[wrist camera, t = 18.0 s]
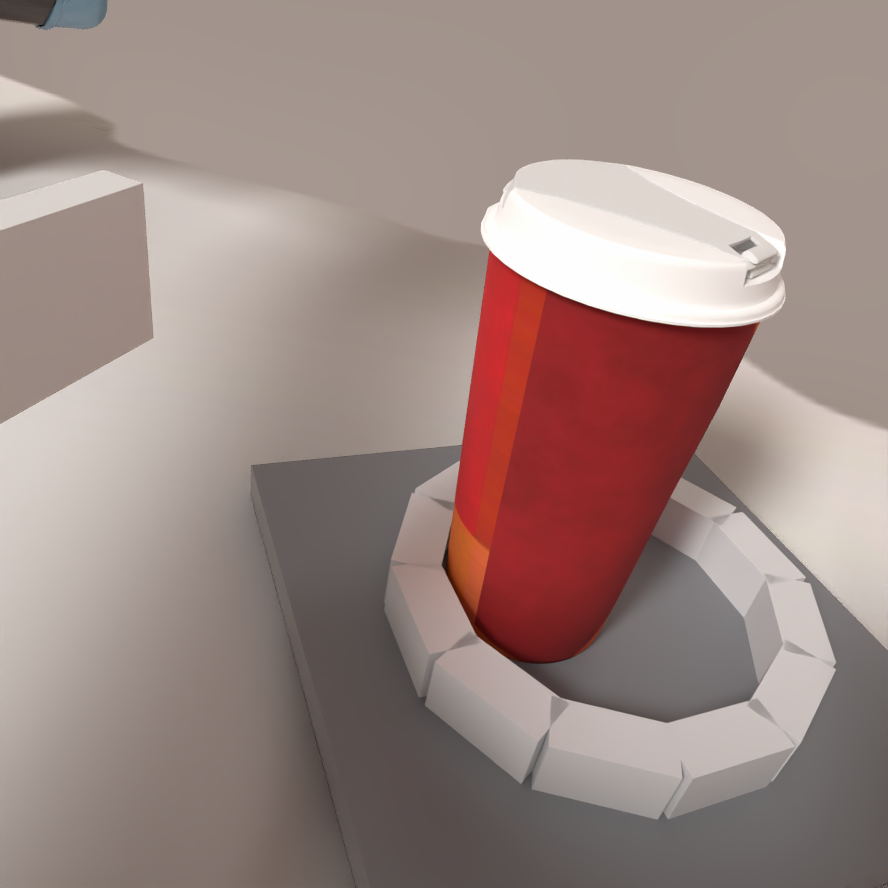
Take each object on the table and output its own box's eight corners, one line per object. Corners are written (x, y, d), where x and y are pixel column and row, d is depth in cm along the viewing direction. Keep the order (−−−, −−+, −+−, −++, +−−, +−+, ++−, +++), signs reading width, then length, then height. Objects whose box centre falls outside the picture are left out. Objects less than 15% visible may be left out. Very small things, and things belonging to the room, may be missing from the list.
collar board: (250, 494, 31) (252, 423, 29) (656, 449, 39) (680, 391, 37) (409, 1086, 17) (433, 1025, 15) (1010, 830, 24) (1080, 767, 22)
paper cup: (672, 611, 27) (853, 232, 19) (545, 739, 22) (719, 299, 14) (504, 496, 31) (597, 139, 23) (363, 584, 26) (420, 167, 18)
